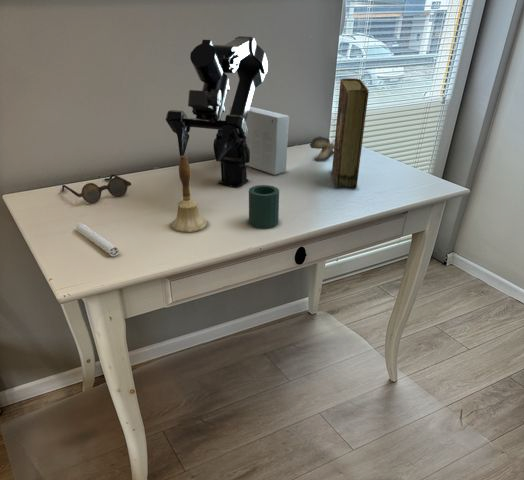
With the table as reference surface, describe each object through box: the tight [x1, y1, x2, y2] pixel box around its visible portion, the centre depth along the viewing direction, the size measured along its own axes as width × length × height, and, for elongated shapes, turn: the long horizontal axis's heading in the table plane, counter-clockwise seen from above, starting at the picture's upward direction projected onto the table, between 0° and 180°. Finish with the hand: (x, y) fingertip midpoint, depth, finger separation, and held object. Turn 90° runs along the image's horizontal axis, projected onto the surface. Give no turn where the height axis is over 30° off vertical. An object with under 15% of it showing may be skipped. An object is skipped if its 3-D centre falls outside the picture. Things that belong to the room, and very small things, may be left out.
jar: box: [248, 184, 280, 230], centre depth 117 cm, size 7×7×8 cm
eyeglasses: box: [61, 173, 132, 204], centre depth 133 cm, size 15×15×5 cm
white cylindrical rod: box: [75, 222, 120, 257], centre depth 110 cm, size 18×2×2 cm, turn 41°
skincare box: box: [228, 105, 290, 176], centre depth 149 cm, size 21×6×16 cm, turn 43°
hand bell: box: [171, 155, 208, 233], centre depth 113 cm, size 8×8×16 cm
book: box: [331, 78, 370, 189], centre depth 137 cm, size 16×6×25 cm, turn 179°
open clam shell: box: [309, 136, 335, 162], centre depth 160 cm, size 8×7×9 cm
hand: (199, 158), depth 115 cm, fingers open, 9 cm apart
